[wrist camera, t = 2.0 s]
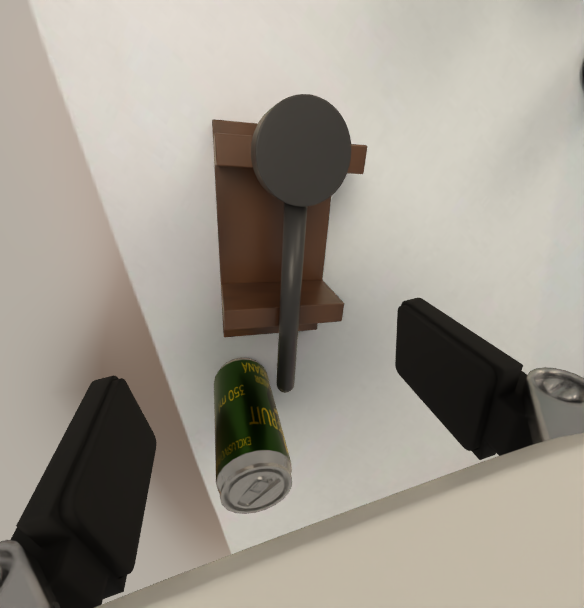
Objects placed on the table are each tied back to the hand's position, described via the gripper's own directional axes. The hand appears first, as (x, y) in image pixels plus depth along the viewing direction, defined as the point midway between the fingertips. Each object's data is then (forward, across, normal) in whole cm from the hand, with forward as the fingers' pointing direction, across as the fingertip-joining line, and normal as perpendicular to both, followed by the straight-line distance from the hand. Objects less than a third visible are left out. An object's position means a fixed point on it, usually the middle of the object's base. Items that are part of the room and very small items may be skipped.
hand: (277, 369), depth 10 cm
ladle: (+10, -3, 0) cm, 11 cm away
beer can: (+17, +3, +14) cm, 22 cm away
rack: (+16, -3, 0) cm, 17 cm away
